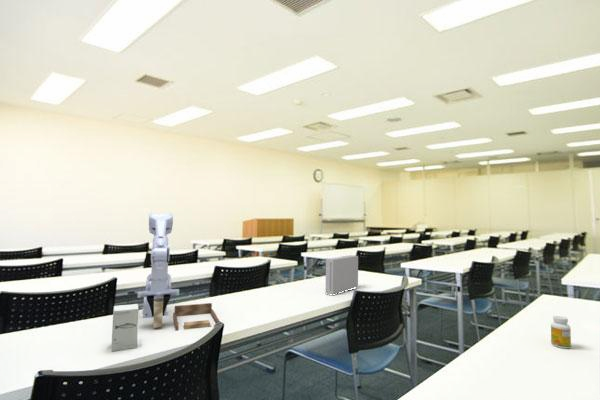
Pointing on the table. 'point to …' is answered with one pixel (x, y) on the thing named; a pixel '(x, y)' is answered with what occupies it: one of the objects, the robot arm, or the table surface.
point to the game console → (341, 274)
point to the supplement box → (125, 327)
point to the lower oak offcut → (194, 328)
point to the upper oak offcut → (196, 324)
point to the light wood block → (158, 312)
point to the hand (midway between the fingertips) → (158, 315)
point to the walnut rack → (193, 311)
